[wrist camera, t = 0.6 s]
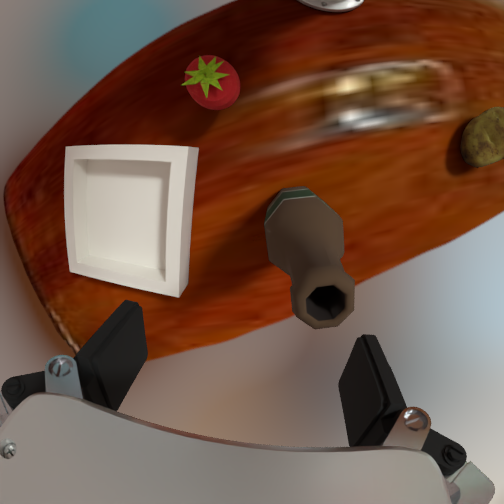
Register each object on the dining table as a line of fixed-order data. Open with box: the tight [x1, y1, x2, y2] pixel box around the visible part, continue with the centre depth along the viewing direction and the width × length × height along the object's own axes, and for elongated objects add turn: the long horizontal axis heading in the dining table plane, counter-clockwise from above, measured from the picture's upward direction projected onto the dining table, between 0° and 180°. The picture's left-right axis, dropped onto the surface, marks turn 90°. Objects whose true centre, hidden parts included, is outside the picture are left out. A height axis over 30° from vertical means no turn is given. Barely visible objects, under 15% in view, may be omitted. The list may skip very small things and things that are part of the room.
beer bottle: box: [264, 186, 355, 329], centre depth 25 cm, size 8×8×24 cm
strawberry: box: [181, 55, 240, 110], centre depth 27 cm, size 6×8×10 cm
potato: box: [460, 107, 504, 168], centre depth 25 cm, size 8×13×8 cm, turn 113°
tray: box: [64, 145, 199, 297], centre depth 36 cm, size 20×20×4 cm
